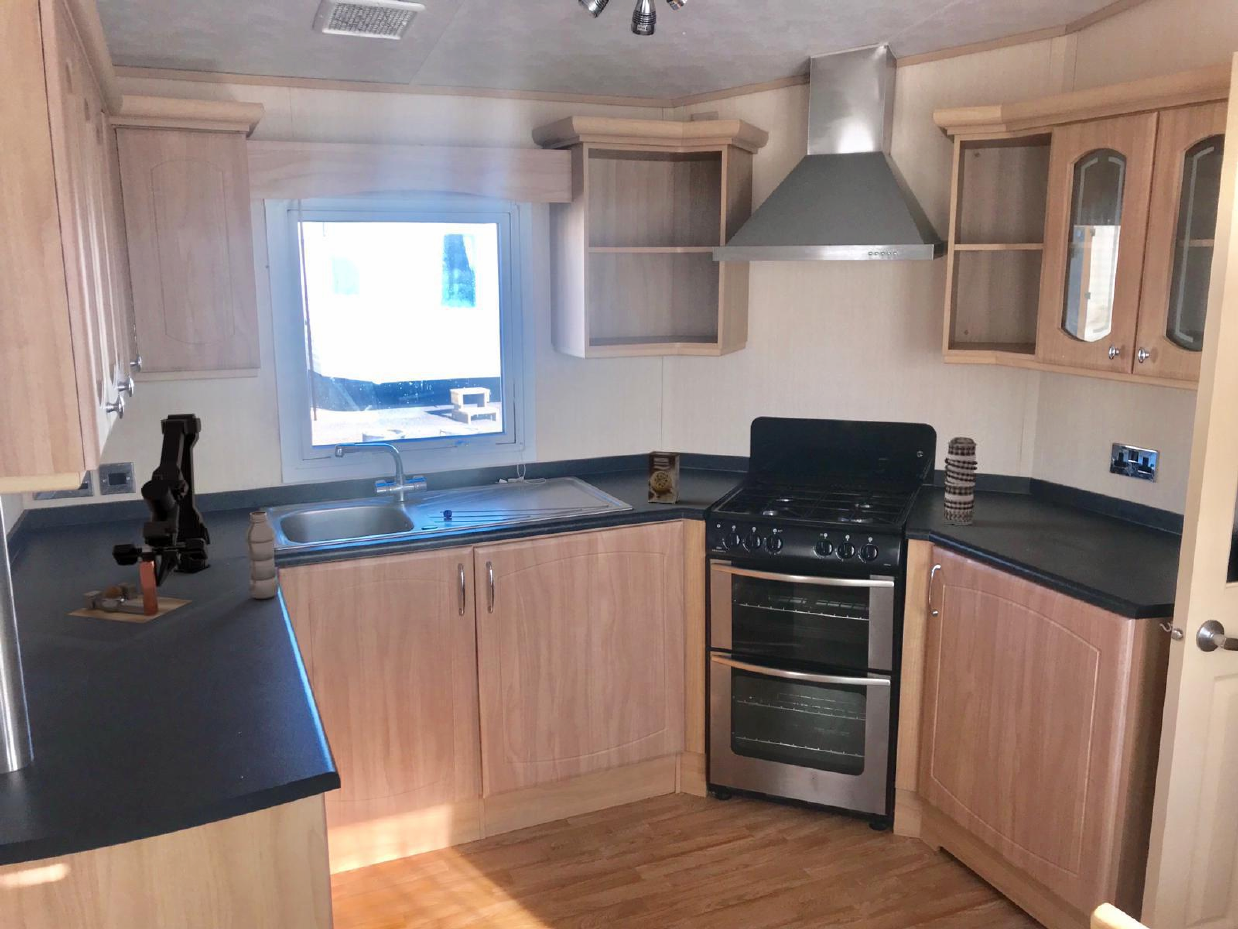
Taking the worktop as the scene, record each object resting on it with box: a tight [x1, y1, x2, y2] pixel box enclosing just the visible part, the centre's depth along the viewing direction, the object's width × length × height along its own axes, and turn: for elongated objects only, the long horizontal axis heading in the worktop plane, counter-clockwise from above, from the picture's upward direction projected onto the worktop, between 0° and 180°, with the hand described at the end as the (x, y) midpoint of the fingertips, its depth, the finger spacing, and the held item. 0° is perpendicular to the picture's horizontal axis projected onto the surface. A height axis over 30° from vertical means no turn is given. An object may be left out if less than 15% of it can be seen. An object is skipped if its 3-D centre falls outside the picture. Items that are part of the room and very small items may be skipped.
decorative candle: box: [942, 436, 978, 522], centre depth 287 cm, size 9×9×25 cm
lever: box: [82, 560, 159, 615], centre depth 214 cm, size 18×4×11 cm, turn 73°
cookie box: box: [647, 450, 681, 503], centre depth 317 cm, size 9×6×16 cm
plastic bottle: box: [244, 510, 280, 600], centre depth 226 cm, size 6×7×20 cm
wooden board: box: [67, 582, 193, 624], centre depth 217 cm, size 15×20×4 cm
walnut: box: [104, 585, 123, 599], centre depth 221 cm, size 4×4×4 cm
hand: (157, 586), depth 214 cm, fingers closed
